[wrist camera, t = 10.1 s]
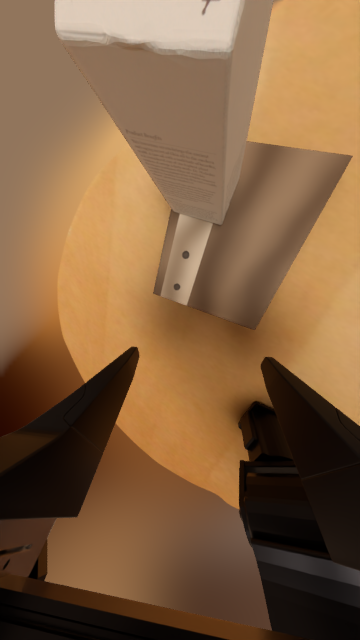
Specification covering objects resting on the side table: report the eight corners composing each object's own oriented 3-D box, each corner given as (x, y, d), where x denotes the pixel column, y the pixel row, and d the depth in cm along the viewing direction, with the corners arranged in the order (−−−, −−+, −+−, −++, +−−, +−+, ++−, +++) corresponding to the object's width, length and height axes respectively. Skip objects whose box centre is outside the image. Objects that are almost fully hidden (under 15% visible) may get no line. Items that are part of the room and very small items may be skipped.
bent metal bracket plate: (337, 169, 12) (355, 153, 10) (251, 326, 18) (255, 330, 16) (190, 147, 14) (186, 130, 13) (157, 292, 20) (152, 293, 19)
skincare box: (240, 177, 13) (378, -456, 2) (221, 226, 14) (233, 56, 3) (183, 164, 14) (38, -312, 3) (171, 212, 15) (49, 38, 4)
